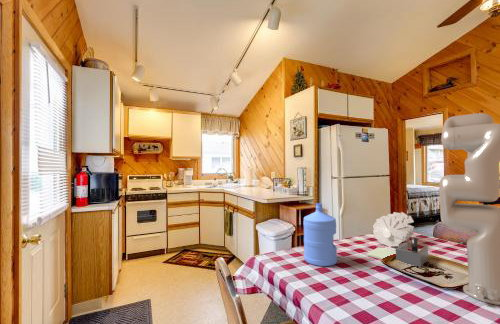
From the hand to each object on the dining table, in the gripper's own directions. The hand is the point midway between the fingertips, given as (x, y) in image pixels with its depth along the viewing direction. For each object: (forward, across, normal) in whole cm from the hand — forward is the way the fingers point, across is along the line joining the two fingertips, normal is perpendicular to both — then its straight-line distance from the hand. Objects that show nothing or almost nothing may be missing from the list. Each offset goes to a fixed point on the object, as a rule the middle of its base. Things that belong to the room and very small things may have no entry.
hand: (479, 198), depth 115 cm
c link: (+30, -26, -18) cm, 44 cm away
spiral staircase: (+30, -38, +7) cm, 49 cm away
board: (+30, -39, -18) cm, 52 cm away
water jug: (+30, -62, -46) cm, 83 cm away
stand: (+30, -26, -14) cm, 42 cm away
